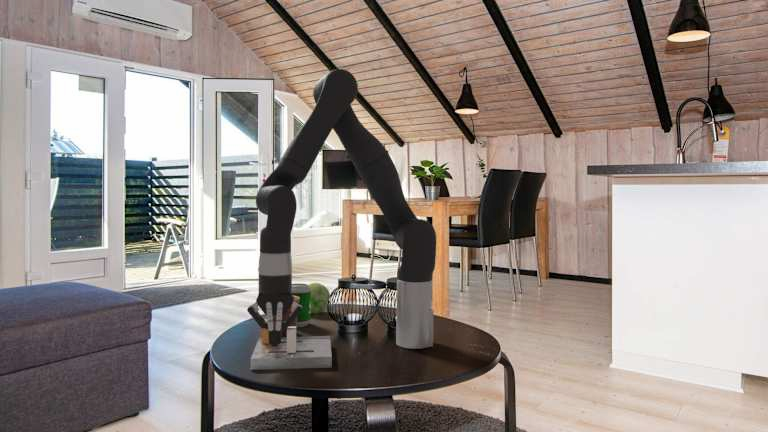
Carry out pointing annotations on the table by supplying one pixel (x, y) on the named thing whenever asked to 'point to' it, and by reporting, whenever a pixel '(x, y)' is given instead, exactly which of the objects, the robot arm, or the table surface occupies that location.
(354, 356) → the table surface
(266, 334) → the fader orange
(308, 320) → the soda can
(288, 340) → the fader cream
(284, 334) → the mug
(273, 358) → the console
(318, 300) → the decorative ball
